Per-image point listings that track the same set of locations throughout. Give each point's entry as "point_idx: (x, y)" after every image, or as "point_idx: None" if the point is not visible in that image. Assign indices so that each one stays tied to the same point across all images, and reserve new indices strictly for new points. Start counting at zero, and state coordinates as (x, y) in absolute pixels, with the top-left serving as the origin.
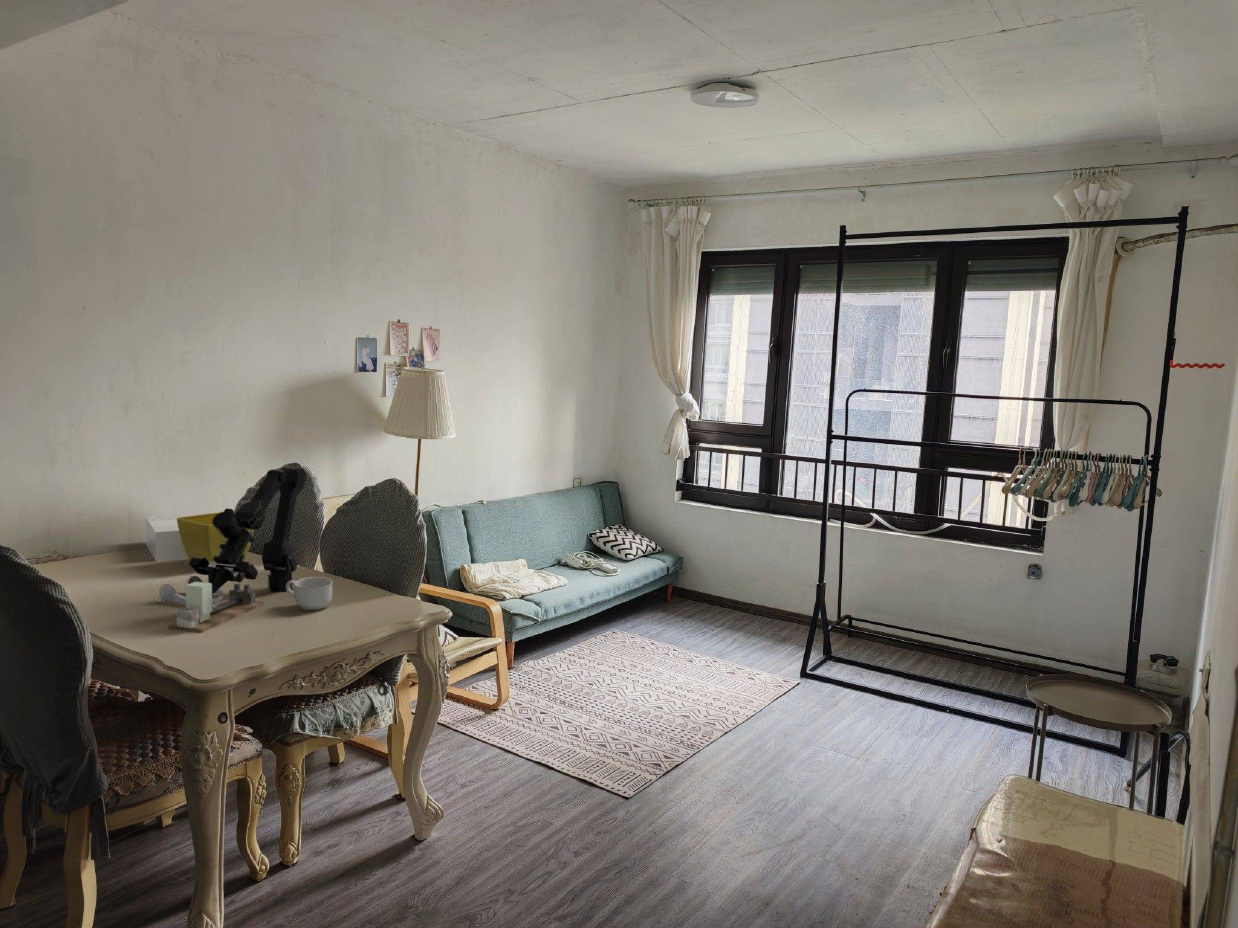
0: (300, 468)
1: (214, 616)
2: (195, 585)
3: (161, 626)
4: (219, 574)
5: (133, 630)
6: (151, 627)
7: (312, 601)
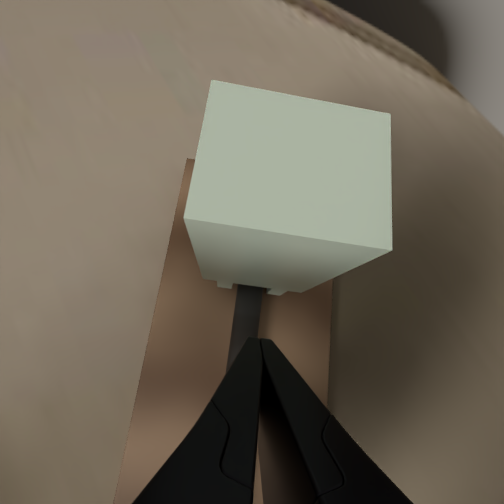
0: None
1: (219, 337)
2: (301, 115)
3: None
4: (175, 485)
5: (427, 162)
6: (397, 199)
7: None
